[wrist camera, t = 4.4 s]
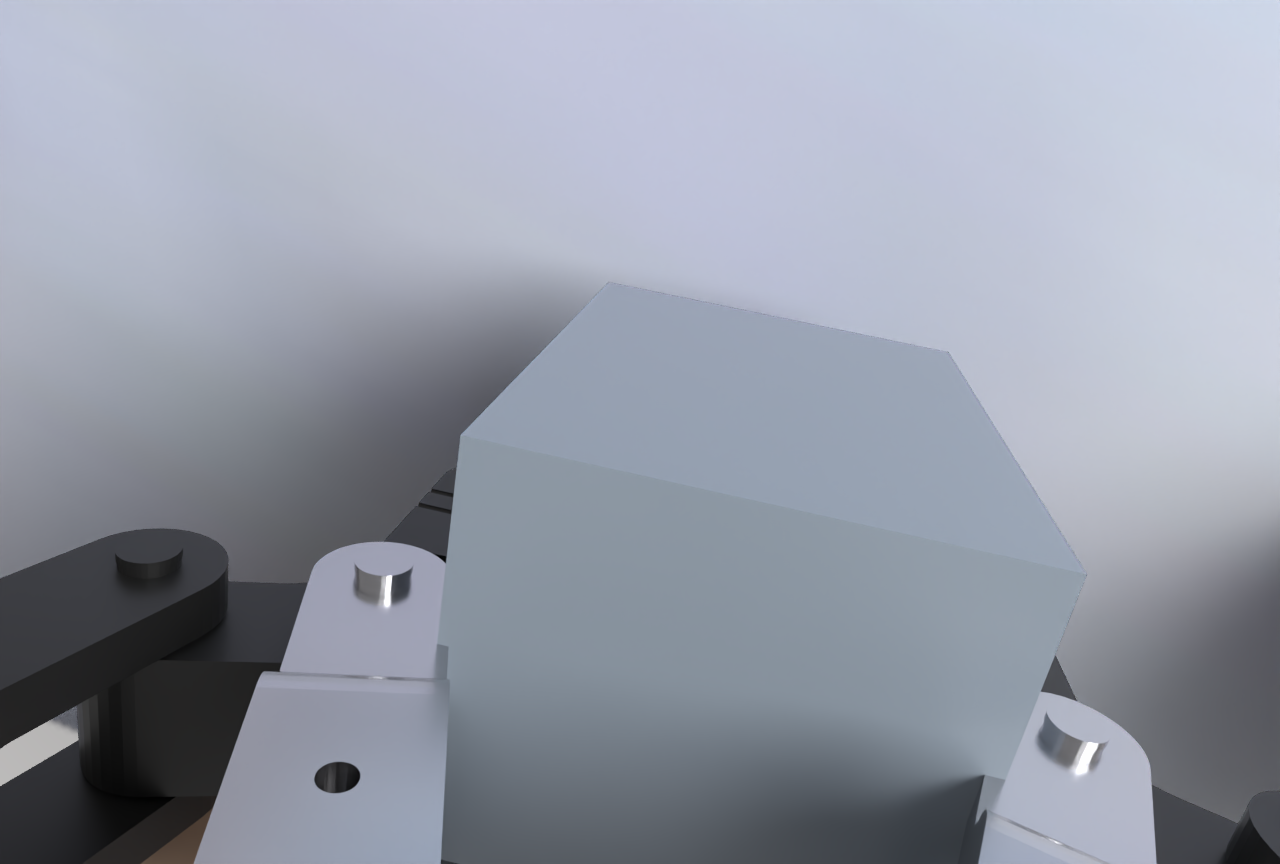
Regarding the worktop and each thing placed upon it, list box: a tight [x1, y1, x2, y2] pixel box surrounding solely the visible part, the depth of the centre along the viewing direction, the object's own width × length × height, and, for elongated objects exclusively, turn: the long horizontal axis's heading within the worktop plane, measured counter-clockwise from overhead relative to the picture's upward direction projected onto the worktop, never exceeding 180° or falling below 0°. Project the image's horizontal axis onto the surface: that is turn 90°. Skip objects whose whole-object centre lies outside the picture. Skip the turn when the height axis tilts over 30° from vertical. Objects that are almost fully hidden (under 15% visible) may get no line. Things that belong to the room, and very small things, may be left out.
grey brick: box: [437, 282, 1087, 864], centre depth 10 cm, size 4×6×6 cm
